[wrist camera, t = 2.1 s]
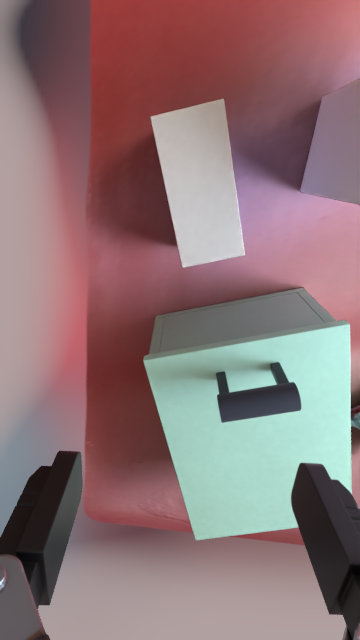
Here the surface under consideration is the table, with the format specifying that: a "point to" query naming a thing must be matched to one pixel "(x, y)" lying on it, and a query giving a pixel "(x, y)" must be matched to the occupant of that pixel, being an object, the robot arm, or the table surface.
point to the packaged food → (355, 417)
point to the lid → (254, 422)
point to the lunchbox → (236, 320)
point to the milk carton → (336, 147)
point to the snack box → (199, 182)
